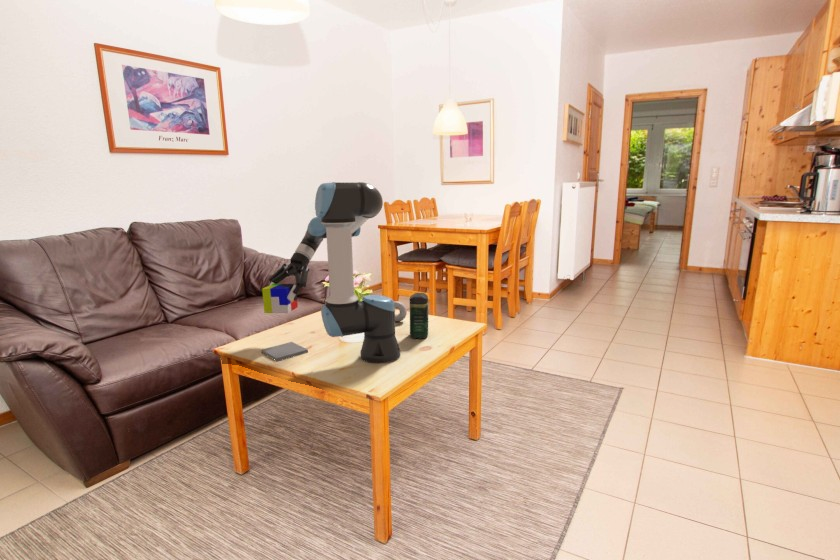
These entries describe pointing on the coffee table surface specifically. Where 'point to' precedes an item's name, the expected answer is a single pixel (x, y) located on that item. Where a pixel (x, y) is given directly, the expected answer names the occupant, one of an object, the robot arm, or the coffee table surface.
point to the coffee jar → (419, 315)
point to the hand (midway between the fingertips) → (277, 298)
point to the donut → (402, 311)
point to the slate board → (284, 351)
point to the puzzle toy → (278, 298)
